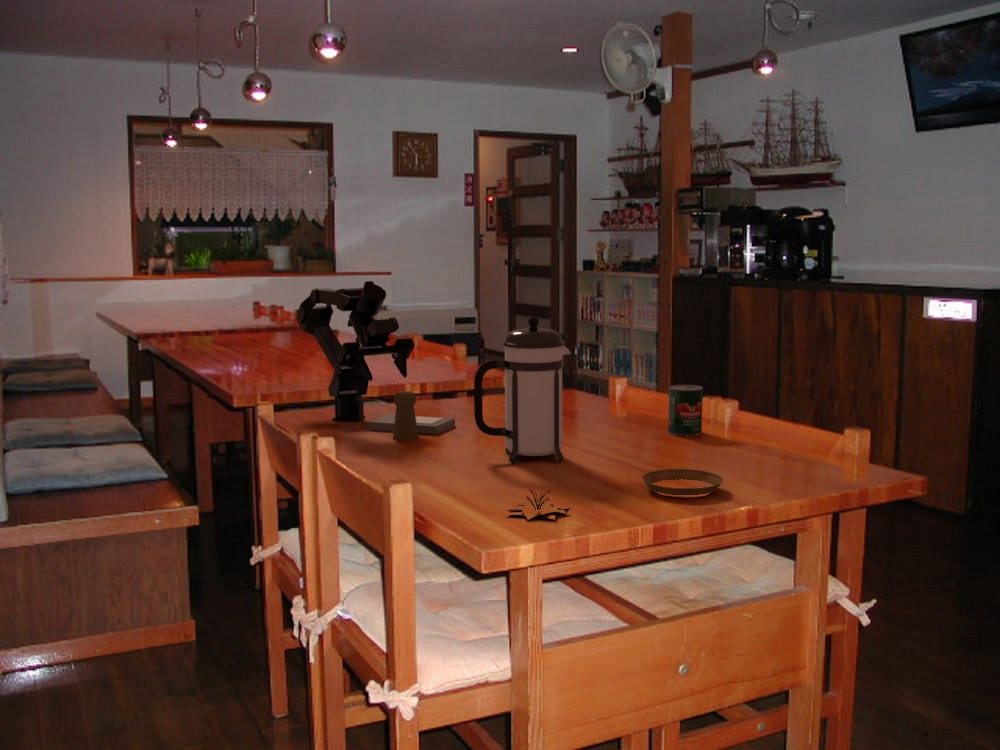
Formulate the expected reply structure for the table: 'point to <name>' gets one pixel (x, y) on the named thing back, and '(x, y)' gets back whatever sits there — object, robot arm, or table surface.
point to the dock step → (423, 422)
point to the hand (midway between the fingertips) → (388, 378)
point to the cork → (405, 417)
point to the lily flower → (539, 501)
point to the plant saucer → (683, 474)
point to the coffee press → (528, 392)
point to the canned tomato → (685, 410)
